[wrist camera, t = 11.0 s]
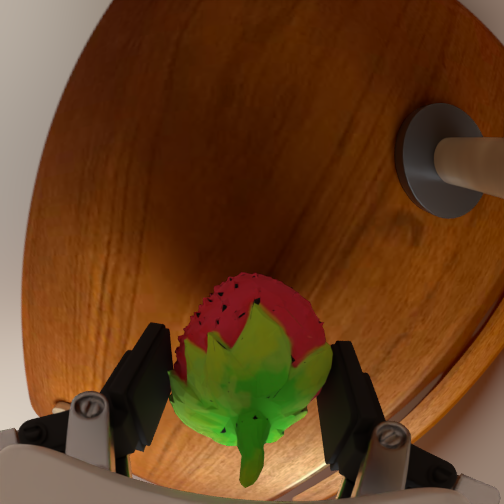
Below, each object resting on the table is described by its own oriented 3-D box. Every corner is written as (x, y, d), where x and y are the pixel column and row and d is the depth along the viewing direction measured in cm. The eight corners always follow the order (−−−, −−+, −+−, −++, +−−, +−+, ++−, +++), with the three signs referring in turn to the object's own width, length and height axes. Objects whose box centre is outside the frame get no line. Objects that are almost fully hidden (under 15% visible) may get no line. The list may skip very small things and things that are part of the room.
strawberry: (339, 279, 15) (414, 439, 5) (259, 369, 17) (252, 521, 7) (245, 217, 14) (203, 355, 4) (176, 324, 16) (109, 473, 7)
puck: (50, 395, 21) (45, 401, 20) (88, 411, 20) (84, 418, 19) (65, 424, 22) (62, 430, 21) (102, 439, 22) (99, 446, 21)
